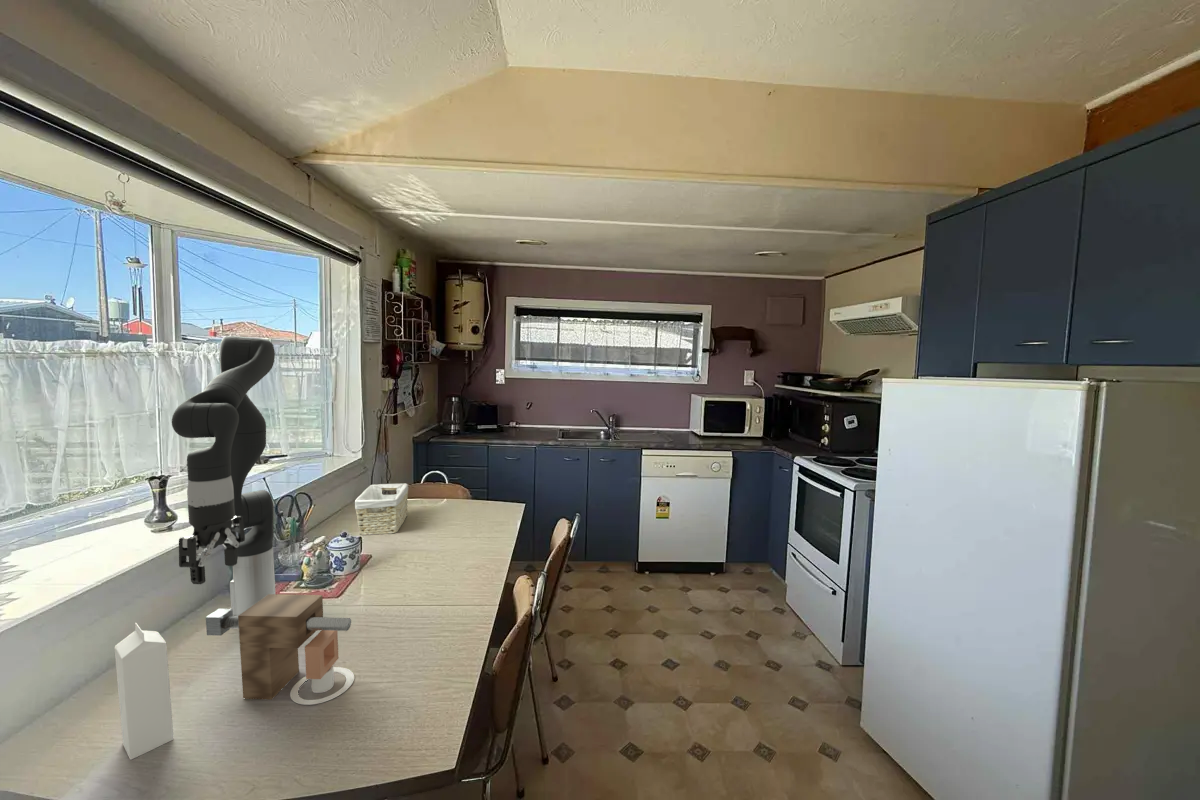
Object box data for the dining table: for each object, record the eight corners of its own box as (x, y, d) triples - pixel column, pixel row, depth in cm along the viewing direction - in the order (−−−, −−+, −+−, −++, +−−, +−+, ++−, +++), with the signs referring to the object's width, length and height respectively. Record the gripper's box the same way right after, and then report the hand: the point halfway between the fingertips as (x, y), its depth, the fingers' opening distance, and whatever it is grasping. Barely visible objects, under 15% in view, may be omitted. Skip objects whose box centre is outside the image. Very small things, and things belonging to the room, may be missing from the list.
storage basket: (398, 535, 194) (397, 498, 192) (354, 537, 191) (352, 500, 189) (410, 515, 217) (409, 482, 216) (371, 517, 214) (369, 483, 213)
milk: (165, 725, 94) (157, 614, 93) (174, 740, 91) (166, 625, 89) (121, 744, 90) (112, 628, 88) (129, 761, 86) (120, 640, 84)
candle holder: (295, 678, 109) (294, 659, 109) (355, 665, 114) (355, 647, 113) (285, 714, 98) (284, 694, 98) (352, 698, 103) (351, 679, 102)
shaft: (206, 635, 103) (205, 617, 103) (219, 626, 107) (218, 608, 107) (344, 637, 103) (343, 619, 103) (352, 628, 106) (351, 611, 106)
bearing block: (243, 699, 102) (238, 615, 100) (272, 671, 111) (268, 594, 109) (300, 700, 102) (296, 616, 100) (325, 672, 110) (322, 595, 109)
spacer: (306, 678, 102) (304, 646, 102) (325, 658, 109) (323, 628, 109) (320, 679, 102) (319, 647, 102) (338, 658, 109) (337, 628, 109)
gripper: (220, 488, 109) (224, 559, 111) (162, 509, 95) (167, 589, 97) (253, 489, 109) (257, 560, 111) (200, 510, 95) (205, 590, 97)
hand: (215, 573), depth 104 cm, fingers open, 8 cm apart
